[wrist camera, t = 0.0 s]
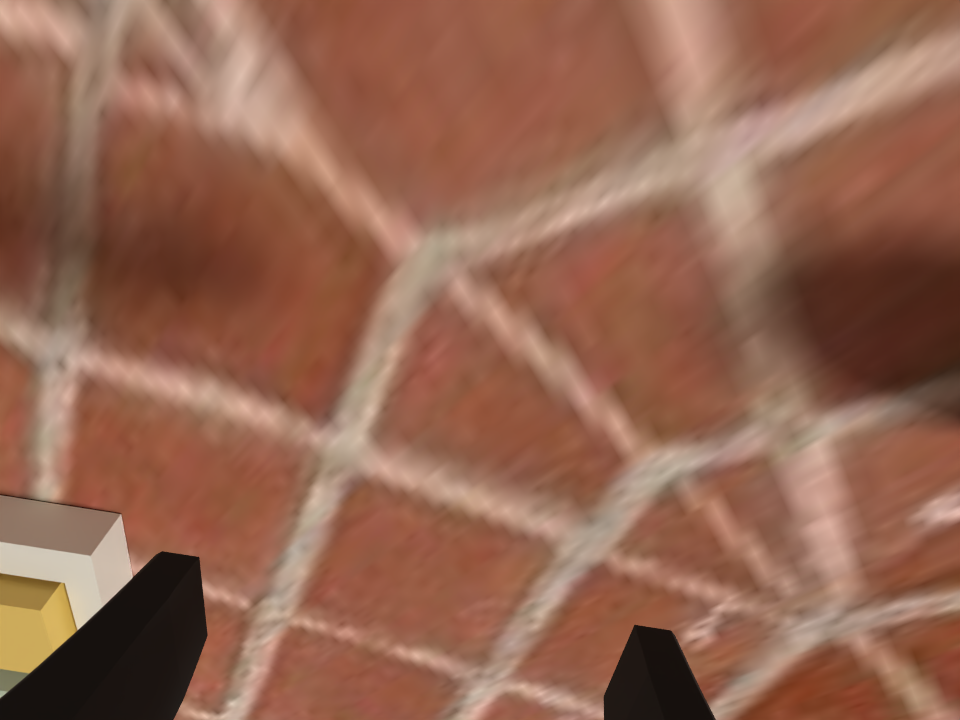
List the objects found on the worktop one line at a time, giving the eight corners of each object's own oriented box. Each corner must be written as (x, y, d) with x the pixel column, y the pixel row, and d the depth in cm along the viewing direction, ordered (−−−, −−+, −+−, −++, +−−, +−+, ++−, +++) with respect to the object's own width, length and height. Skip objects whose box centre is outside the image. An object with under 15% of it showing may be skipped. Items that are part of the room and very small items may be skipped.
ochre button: (88, 636, 27) (61, 677, 25) (-12, 621, 27) (-45, 662, 25) (70, 569, 25) (40, 610, 23) (-39, 552, 25) (-76, 592, 23)
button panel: (169, 775, 35) (151, 818, 33) (34, 755, 35) (9, 797, 33) (120, 514, 25) (90, 555, 23) (-69, 484, 25) (-114, 523, 23)
